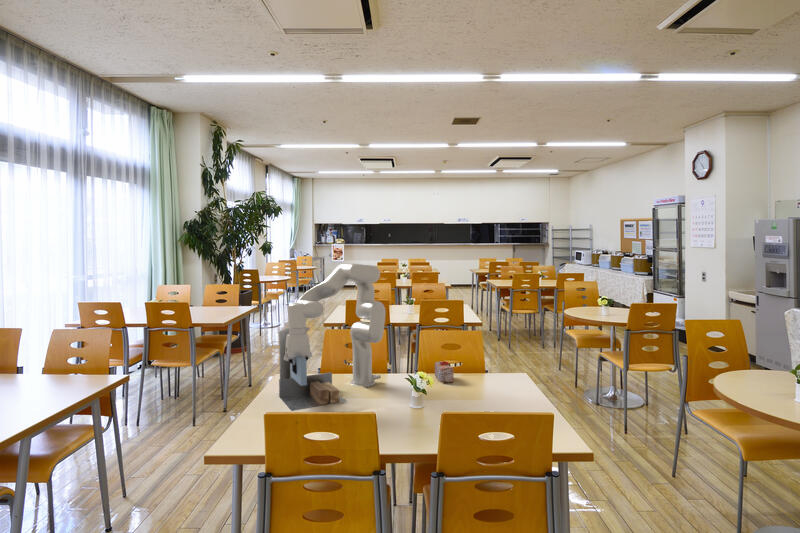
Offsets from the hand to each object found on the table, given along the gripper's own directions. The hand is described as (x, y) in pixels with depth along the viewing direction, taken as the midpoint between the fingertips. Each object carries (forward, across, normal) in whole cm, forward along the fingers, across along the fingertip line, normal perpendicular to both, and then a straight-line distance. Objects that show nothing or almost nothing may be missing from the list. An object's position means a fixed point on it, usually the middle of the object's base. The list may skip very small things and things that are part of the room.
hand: (298, 372), depth 208 cm
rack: (+14, -6, -1) cm, 16 cm away
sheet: (+4, 0, 0) cm, 4 cm away
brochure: (+15, -2, -22) cm, 26 cm away
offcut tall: (+13, -9, 0) cm, 16 cm away
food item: (+16, -76, -1) cm, 78 cm away
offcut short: (+14, -14, 0) cm, 19 cm away
